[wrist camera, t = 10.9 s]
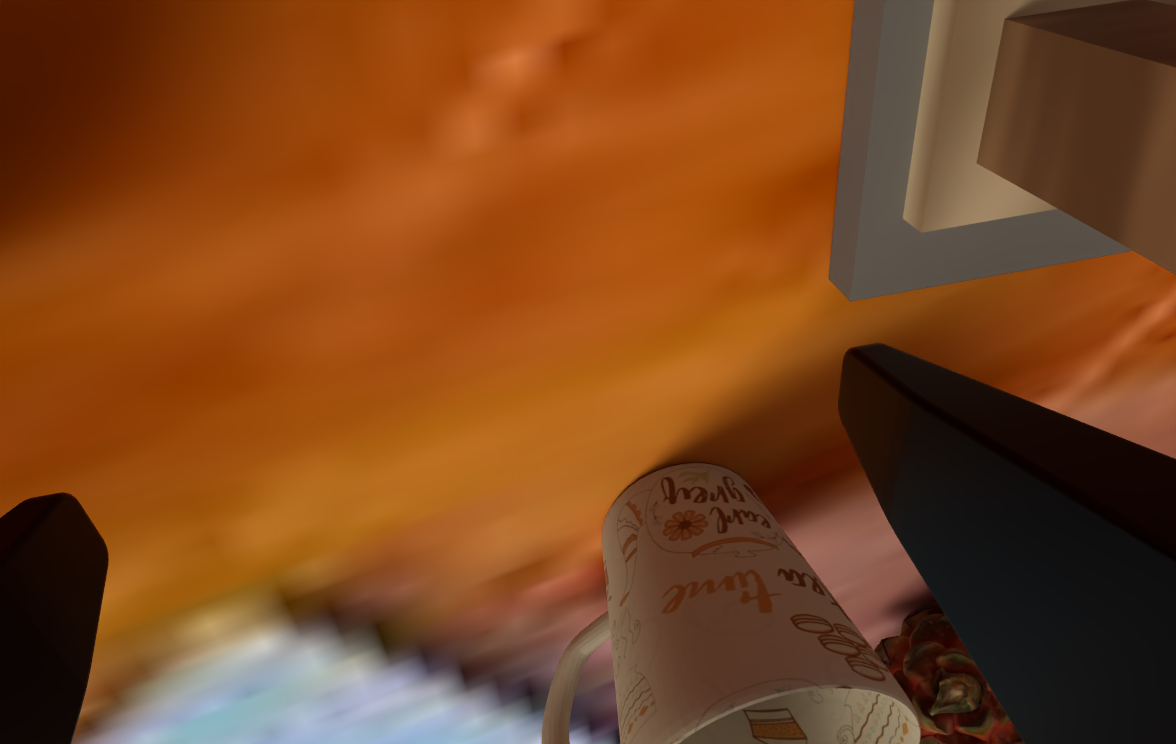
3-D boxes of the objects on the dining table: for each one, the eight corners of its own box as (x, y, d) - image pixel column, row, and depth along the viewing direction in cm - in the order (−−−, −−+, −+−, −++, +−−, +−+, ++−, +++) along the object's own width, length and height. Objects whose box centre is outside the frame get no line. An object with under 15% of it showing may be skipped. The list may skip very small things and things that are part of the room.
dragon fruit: (824, 570, 35) (994, 572, 41) (809, 763, 34) (982, 738, 40) (1000, 621, 28) (1178, 615, 33) (984, 869, 27) (1168, 821, 32)
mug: (825, 498, 30) (976, 739, 22) (607, 677, 34) (667, 938, 26) (683, 396, 26) (803, 646, 18) (454, 613, 30) (467, 899, 22)
